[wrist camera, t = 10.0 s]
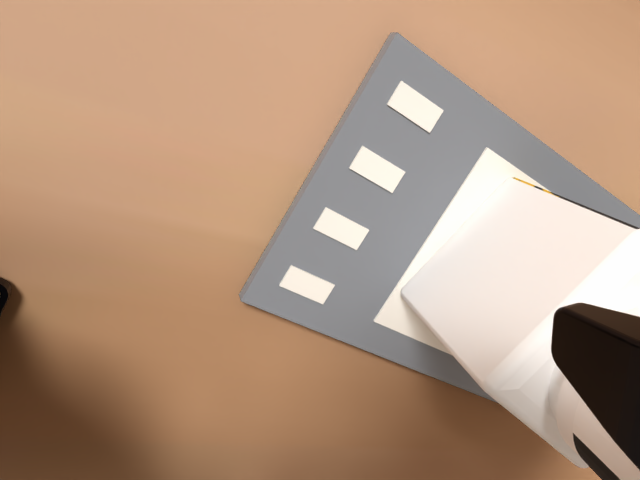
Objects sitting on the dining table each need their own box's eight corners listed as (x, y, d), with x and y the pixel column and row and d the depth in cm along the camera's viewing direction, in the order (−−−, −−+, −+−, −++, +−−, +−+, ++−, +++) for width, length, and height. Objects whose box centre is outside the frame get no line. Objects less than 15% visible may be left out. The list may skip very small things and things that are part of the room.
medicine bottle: (583, 263, 25) (902, 438, 14) (481, 365, 25) (709, 606, 15) (508, 171, 21) (844, 305, 11) (394, 290, 22) (602, 528, 11)
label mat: (519, 407, 28) (527, 415, 28) (239, 294, 21) (240, 302, 20) (653, 229, 26) (665, 233, 25) (390, 32, 19) (398, 32, 18)
